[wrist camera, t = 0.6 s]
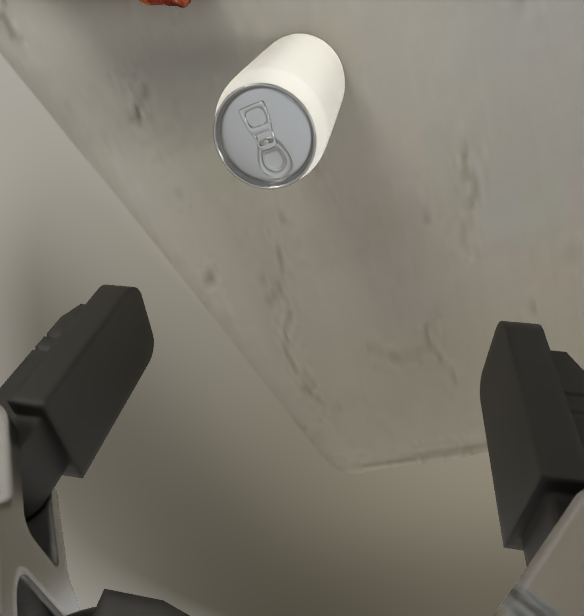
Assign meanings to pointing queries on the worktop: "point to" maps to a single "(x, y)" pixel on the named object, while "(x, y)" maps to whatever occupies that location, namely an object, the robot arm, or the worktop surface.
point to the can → (280, 112)
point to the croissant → (167, 2)
